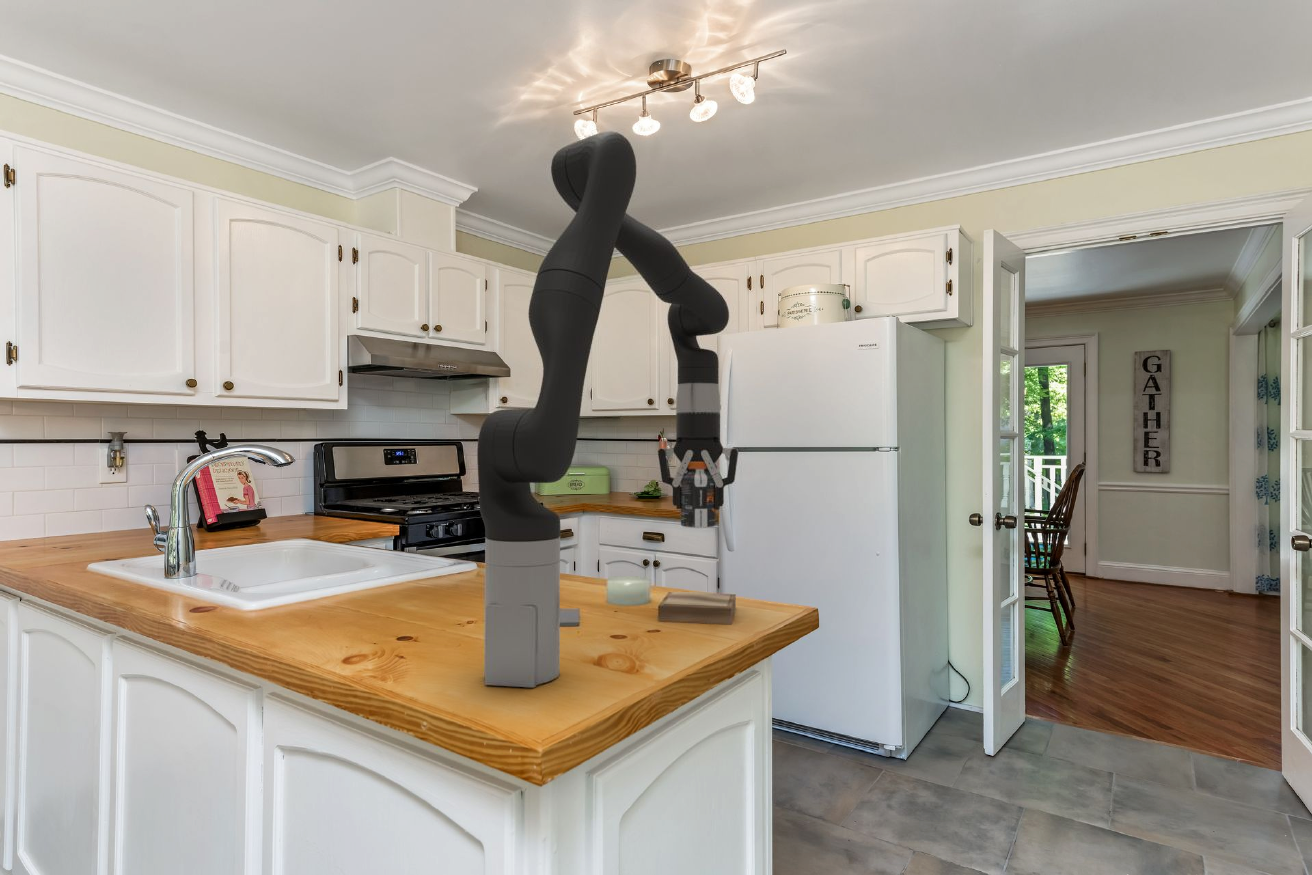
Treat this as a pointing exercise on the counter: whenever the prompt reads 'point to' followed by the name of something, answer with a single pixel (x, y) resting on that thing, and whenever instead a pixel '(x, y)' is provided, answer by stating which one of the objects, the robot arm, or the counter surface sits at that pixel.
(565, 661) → the counter surface
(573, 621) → the coaster
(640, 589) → the pale green puck
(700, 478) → the pill bottle
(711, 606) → the riser
